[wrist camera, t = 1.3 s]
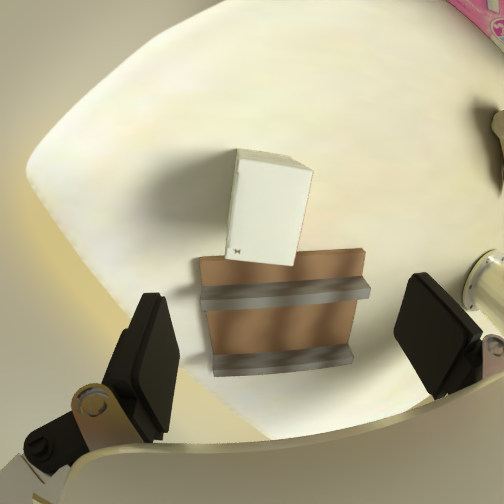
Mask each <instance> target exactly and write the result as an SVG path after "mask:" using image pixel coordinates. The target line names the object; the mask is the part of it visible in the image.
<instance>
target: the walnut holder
mask: <svg viewBox="0 0 504 504" xmlns="http://www.w3.org/2000/svg"><path fill="white" fill-rule="evenodd" d="M365 253H366V252H365V251H364V250H363V249H362V248H357V249H339V250H321V251H303V252H296V257H295V261H294V265H293V266H287V265H276V264H267V263H258V262H249V261H239V260H231V259H225V256H210V257H200V260H199V264H200V272H201V279H202V292H201V297H200V304H201V310H202V311H206V313H207V319H208V325H209V331H210V337H211V343H212V349H213V354H214V356H213V374H214V377H225V376H249V375H264V374H277V373H287V372H297V371H305V370H313V369H321V368H328V367H335V366H341V365H347V364H352V361H353V358H354V356H353V354H352V352H351V349H350V347H349V345H348V340H349V336H350V332H351V327H352V323H353V319H354V314H355V309H356V304H357V300H359V299H368V298H369V295H370V291H371V287H370V286H369V285H368V283H367V282H366V280H365V279H364V278H363V276H362V272H363V266H364V260H365Z"/></svg>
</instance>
